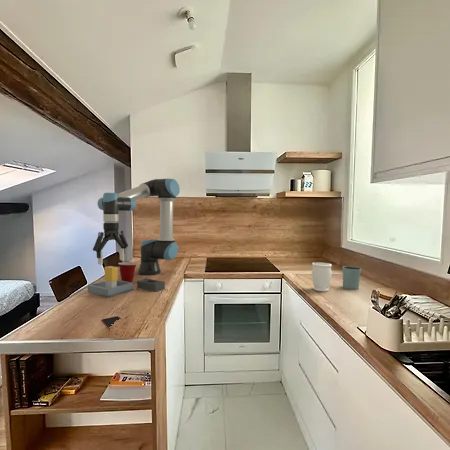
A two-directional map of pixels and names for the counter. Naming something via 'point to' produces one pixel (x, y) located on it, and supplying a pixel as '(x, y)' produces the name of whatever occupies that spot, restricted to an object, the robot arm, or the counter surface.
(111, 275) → the block
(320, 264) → the jar
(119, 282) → the parts tray
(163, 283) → the block
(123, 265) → the plastic cup
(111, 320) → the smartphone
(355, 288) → the teal tapered cup
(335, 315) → the counter surface
